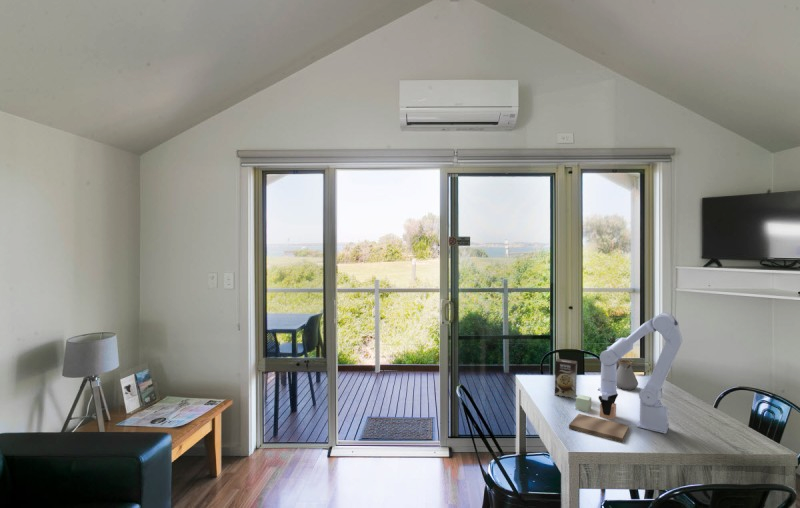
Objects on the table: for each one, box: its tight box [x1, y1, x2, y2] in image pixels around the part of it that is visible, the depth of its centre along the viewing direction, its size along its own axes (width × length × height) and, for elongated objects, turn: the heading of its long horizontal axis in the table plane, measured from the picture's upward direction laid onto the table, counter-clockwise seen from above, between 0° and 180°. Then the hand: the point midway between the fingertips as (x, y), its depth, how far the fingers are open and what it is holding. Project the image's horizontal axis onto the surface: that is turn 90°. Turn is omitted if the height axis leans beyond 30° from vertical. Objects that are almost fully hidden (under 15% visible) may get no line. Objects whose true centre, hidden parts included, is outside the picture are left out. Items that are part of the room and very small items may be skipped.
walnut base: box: [568, 413, 630, 443], centre depth 156 cm, size 18×14×2 cm
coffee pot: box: [616, 359, 639, 391], centre depth 202 cm, size 21×12×15 cm, turn 158°
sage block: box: [575, 394, 592, 413], centre depth 177 cm, size 5×5×5 cm
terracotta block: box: [599, 402, 617, 421], centre depth 169 cm, size 5×5×5 cm
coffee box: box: [554, 358, 578, 399], centre depth 194 cm, size 9×6×16 cm
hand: (608, 412), depth 169 cm, fingers closed on terracotta block, 5 cm apart
